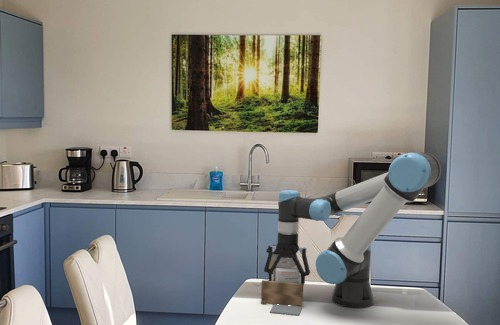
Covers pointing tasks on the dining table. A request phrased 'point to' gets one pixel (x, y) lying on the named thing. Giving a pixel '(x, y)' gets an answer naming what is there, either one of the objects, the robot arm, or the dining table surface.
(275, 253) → the coffee cup
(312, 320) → the dining table surface
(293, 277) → the ink box
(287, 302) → the wooden stand
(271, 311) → the mat
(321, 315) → the dining table surface
